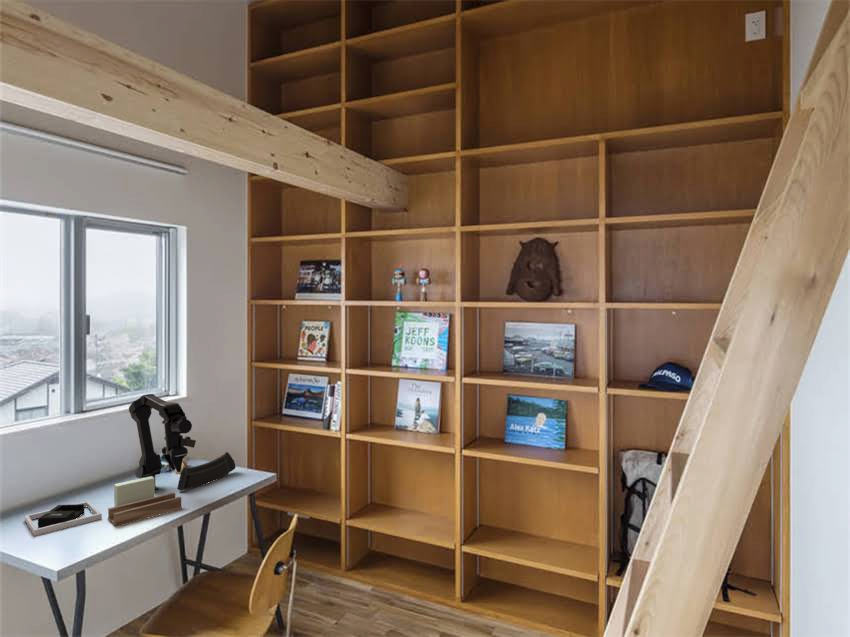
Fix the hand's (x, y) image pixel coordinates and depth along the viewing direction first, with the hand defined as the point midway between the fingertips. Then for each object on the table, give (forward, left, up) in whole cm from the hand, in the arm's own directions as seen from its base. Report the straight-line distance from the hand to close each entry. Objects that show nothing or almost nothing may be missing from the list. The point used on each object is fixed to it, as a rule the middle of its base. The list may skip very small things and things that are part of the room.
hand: (176, 471), depth 218 cm
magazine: (-14, +19, -13) cm, 27 cm away
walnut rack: (+5, -14, -13) cm, 19 cm away
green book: (-8, -14, -13) cm, 20 cm away
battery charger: (-11, -38, -13) cm, 42 cm away
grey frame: (-11, -38, -13) cm, 41 cm away
